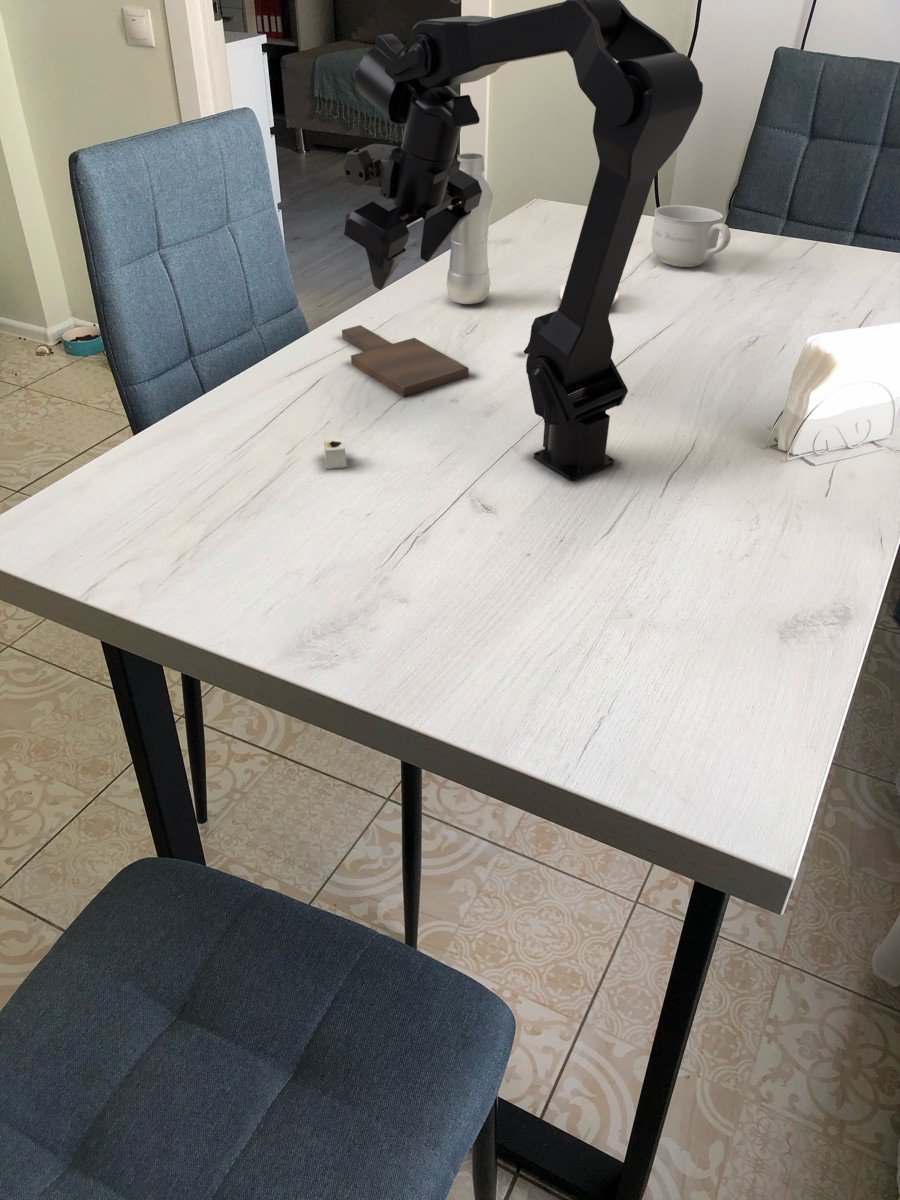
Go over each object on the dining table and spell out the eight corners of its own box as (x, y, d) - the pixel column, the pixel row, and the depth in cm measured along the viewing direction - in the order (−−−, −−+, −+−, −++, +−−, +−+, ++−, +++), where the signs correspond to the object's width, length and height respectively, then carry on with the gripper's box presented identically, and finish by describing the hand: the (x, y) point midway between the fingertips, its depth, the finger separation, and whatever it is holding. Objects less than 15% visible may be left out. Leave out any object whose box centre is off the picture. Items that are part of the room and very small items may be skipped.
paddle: (468, 376, 119) (468, 367, 118) (403, 397, 114) (403, 388, 114) (381, 327, 132) (381, 319, 131) (320, 344, 127) (319, 335, 126)
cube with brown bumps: (325, 459, 102) (323, 438, 101) (344, 457, 103) (343, 437, 101) (326, 469, 101) (325, 448, 99) (346, 467, 101) (345, 446, 99)
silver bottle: (438, 304, 139) (437, 158, 126) (459, 290, 143) (460, 148, 131) (477, 312, 136) (480, 164, 124) (497, 297, 141) (502, 153, 129)
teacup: (635, 256, 156) (641, 206, 151) (688, 247, 160) (696, 198, 155) (685, 282, 146) (694, 230, 141) (741, 273, 150) (751, 221, 145)
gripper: (420, 90, 107) (396, 214, 119) (313, 135, 95) (298, 267, 108) (499, 136, 104) (466, 258, 116) (398, 188, 93) (373, 317, 105)
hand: (401, 273), depth 111 cm, fingers open, 9 cm apart
